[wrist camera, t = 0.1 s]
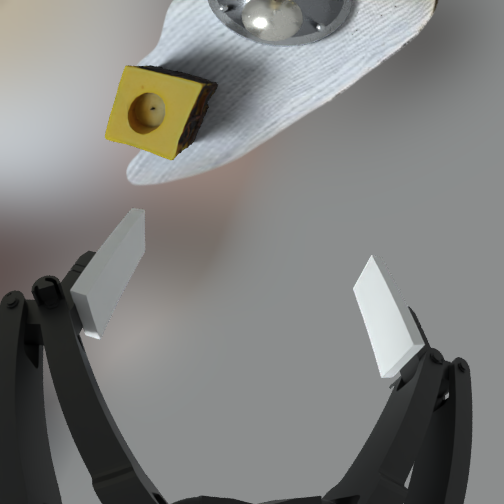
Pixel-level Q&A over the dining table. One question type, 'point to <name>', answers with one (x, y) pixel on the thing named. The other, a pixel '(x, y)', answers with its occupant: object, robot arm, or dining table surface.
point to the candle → (158, 109)
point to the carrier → (282, 19)
